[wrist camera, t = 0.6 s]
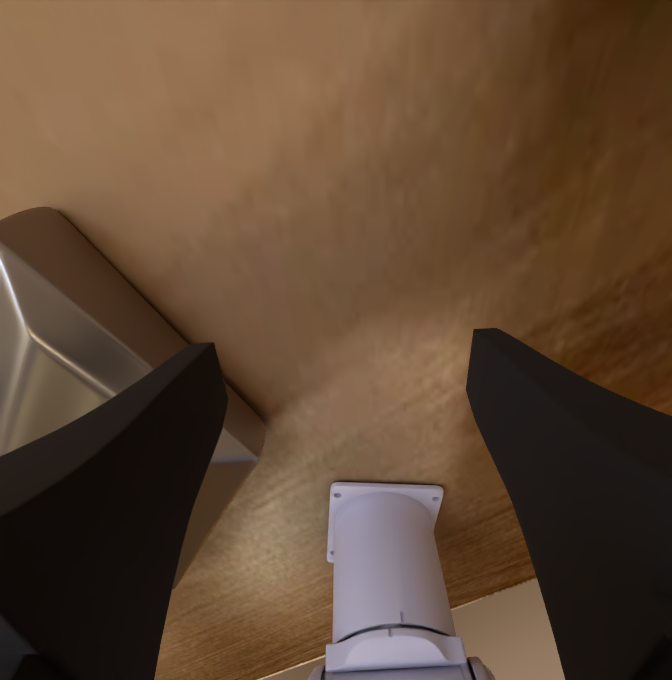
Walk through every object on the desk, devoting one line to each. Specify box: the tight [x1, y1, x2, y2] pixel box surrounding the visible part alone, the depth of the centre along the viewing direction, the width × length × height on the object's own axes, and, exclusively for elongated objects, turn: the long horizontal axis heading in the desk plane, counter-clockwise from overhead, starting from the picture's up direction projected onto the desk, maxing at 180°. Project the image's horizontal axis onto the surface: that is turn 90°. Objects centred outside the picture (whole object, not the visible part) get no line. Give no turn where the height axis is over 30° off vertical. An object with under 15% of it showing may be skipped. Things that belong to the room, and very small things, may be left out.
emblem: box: [0, 207, 266, 589], centre depth 24 cm, size 28×5×28 cm
